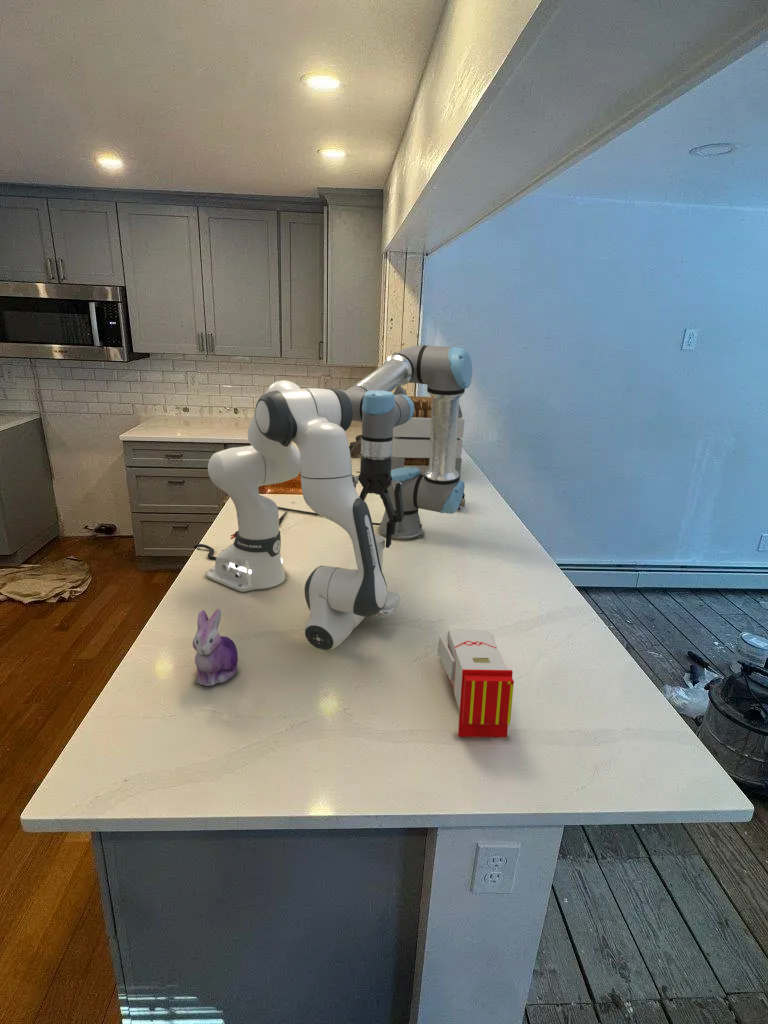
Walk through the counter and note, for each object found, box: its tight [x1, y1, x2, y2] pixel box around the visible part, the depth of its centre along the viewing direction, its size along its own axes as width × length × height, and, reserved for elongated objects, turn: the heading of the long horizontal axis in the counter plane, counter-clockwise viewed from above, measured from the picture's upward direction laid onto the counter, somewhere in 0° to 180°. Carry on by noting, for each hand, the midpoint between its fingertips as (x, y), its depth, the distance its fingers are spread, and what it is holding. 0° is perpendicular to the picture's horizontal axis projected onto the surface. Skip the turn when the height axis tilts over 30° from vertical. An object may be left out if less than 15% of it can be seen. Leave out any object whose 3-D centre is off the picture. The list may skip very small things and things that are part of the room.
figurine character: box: [457, 492, 466, 511], centre depth 229 cm, size 7×8×15 cm
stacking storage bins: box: [390, 386, 465, 481], centre depth 268 cm, size 34×33×41 cm
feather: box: [279, 510, 288, 526], centre depth 213 cm, size 2×28×2 cm
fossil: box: [349, 434, 362, 458], centre depth 305 cm, size 22×10×15 cm
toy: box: [437, 628, 515, 738], centre depth 117 cm, size 12×13×30 cm
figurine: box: [192, 608, 239, 687], centre depth 118 cm, size 9×10×15 cm
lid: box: [375, 534, 386, 551], centre depth 145 cm, size 6×6×2 cm
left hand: (372, 583), depth 150 cm, fingers closed on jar, 5 cm apart
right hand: (372, 543), depth 145 cm, fingers open, 8 cm apart
